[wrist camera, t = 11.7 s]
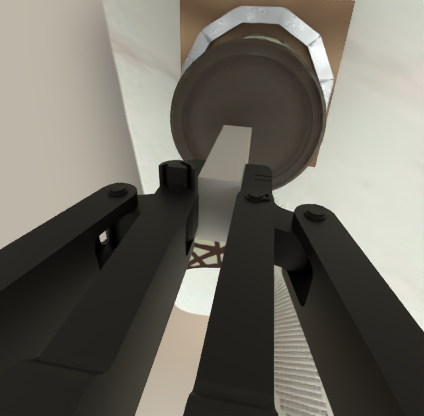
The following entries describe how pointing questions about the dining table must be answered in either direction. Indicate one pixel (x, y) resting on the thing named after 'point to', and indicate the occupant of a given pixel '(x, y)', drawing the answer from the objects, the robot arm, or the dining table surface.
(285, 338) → the skyscraper
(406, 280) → the dining table surface
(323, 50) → the collar
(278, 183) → the coffee can
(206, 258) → the food container
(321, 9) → the board
